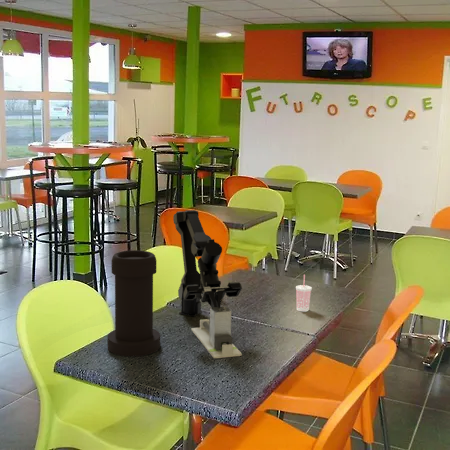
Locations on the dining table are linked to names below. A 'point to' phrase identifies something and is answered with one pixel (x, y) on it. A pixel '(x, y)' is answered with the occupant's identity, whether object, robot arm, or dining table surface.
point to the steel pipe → (209, 331)
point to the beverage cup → (303, 296)
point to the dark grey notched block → (222, 339)
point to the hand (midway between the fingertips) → (217, 314)
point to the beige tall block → (219, 323)
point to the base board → (204, 338)
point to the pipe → (133, 304)
